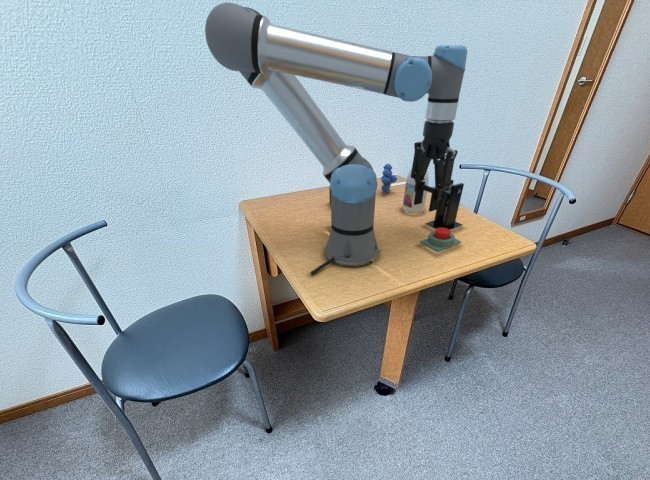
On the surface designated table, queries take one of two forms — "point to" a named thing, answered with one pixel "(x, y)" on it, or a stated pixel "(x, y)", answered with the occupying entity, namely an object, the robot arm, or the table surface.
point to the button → (442, 233)
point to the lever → (429, 189)
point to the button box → (440, 242)
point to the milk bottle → (413, 195)
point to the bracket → (448, 208)
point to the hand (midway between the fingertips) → (425, 206)
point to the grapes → (387, 178)
